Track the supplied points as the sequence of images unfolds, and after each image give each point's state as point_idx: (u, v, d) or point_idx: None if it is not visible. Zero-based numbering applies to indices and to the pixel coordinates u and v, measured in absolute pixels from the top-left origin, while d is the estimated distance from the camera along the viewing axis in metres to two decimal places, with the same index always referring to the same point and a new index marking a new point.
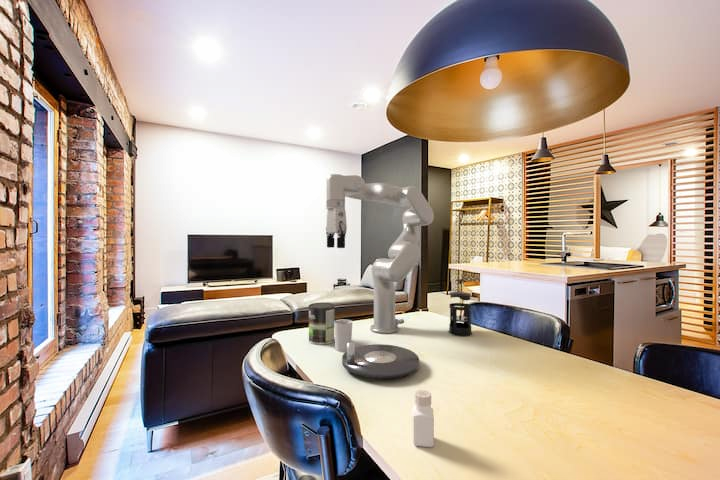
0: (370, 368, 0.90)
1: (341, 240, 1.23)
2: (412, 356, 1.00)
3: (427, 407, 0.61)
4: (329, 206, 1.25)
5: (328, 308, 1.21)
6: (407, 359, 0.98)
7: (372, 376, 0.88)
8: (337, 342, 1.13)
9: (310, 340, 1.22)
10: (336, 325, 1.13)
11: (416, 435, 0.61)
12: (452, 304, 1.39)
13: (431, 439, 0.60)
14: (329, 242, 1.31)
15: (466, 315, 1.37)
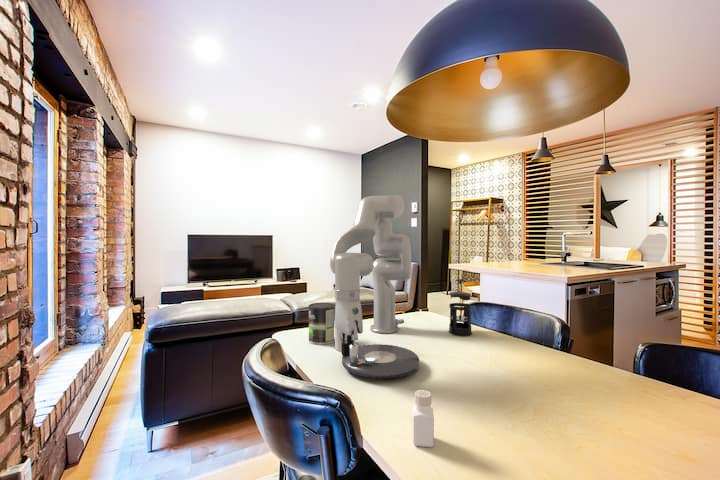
0: (375, 369, 0.90)
1: (349, 347, 0.95)
2: (411, 354, 1.01)
3: (427, 407, 0.61)
4: (339, 299, 0.93)
5: (328, 308, 1.21)
6: (407, 357, 0.99)
7: (379, 376, 0.87)
8: (337, 342, 1.13)
9: (310, 340, 1.22)
10: None
11: (416, 434, 0.61)
12: (452, 304, 1.39)
13: (431, 439, 0.60)
14: None
15: (466, 315, 1.37)
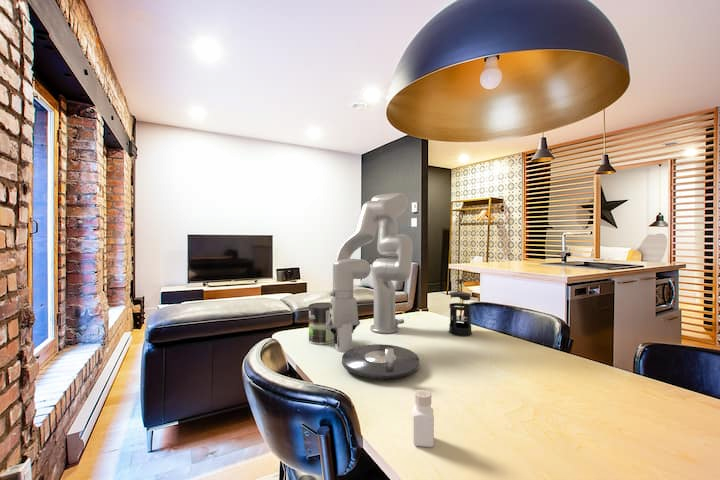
0: (406, 364, 0.93)
1: (334, 337, 1.14)
2: (387, 346, 1.09)
3: (427, 407, 0.61)
4: None
5: (328, 308, 1.21)
6: None
7: (415, 368, 0.93)
8: (337, 342, 1.13)
9: (310, 340, 1.22)
10: None
11: (416, 434, 0.61)
12: (452, 304, 1.39)
13: (431, 439, 0.60)
14: None
15: (466, 315, 1.37)
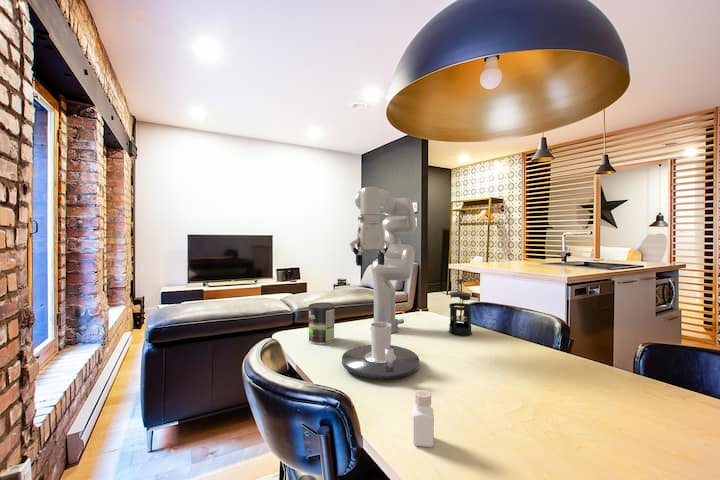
0: (406, 364, 0.93)
1: (356, 257, 1.17)
2: None
3: (427, 407, 0.61)
4: None
5: (328, 308, 1.21)
6: None
7: (415, 368, 0.93)
8: (375, 348, 0.97)
9: (310, 340, 1.22)
10: (374, 329, 0.97)
11: (416, 435, 0.61)
12: (452, 304, 1.39)
13: (431, 439, 0.60)
14: (379, 259, 1.23)
15: (466, 315, 1.37)
